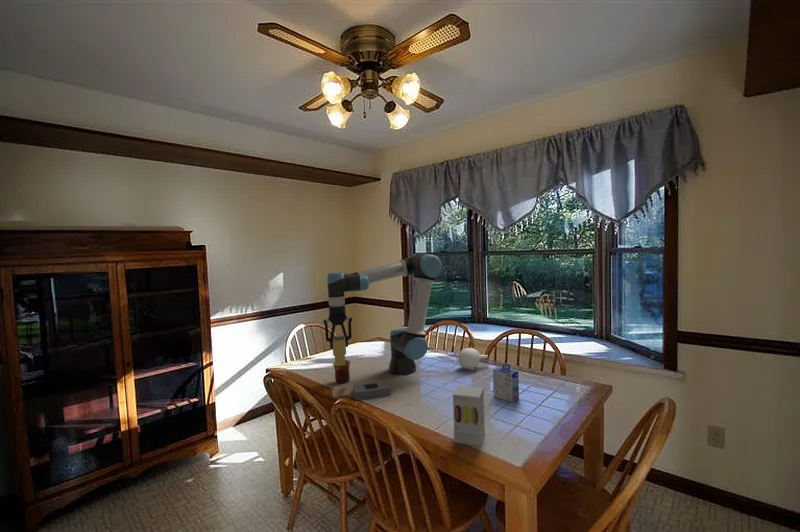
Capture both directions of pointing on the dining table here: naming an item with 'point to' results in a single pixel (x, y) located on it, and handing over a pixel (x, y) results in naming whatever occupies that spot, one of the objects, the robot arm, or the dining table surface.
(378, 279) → the robot arm
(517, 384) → the ink cartridge box
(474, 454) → the dining table surface
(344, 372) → the mug
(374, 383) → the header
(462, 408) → the supplement box
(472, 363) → the piggy bank
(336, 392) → the pad
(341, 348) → the plug
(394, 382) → the dining table surface
